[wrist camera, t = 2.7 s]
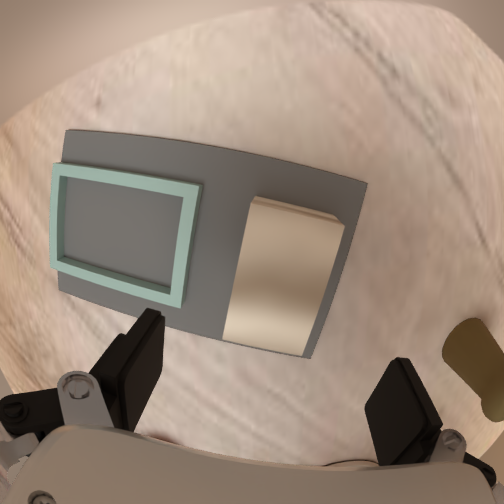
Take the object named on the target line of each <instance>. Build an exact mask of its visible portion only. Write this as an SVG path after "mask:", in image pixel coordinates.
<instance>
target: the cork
mask: <svg viewBox="0 0 504 504" xmlns="http://www.w3.org/2000/svg"><path fill="white" fill-rule="evenodd" d="M442 357H443V359H444V361H445V362H446V363H447V364H448V365H449V366H450V367H451V368H452V369H453V370H454V371H455V372H456V373H457V374H458V375H459V376H460V377H461V378H462V379H463V380H464V381H465V382H466V383H467V384H468V385H469V386H470V387H471V388H472V390H473V391H474V392H475V393H476V394H477V395H478V396H479V397H480V398H481V406H482V410H483V413H484V415H485V416H486V417H487V418H488V419H489V420H491V421H493V422H500V421H503V420H504V353H503V351H502V350H501V348H500V347H499V345H498V344H497V342H496V341H495V339H494V338H493V336H492V335H491V333H490V332H489V330H488V329H487V327H486V326H485V325H484V323H483V322H482V321H481V320H480V319H477V318H471V319H468V320H465V321H463V322H462V323H460V324H459V325H458V326H456V327H455V328H454V330H453V331H452V332H451V333H450V334H449V336H448V337H447V339H446V341H445V343H444V346H443V349H442Z"/></svg>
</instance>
